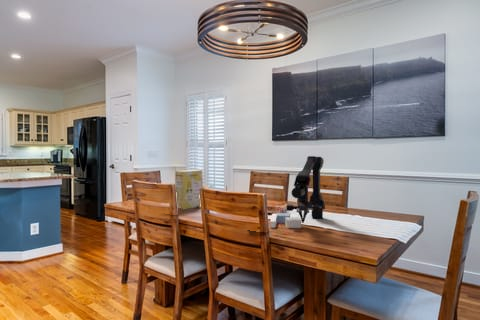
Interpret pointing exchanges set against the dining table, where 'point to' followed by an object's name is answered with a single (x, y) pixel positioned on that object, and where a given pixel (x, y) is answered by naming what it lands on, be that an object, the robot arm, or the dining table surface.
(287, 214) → the slate block
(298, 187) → the robot arm
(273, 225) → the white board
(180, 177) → the pasta box
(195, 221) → the dining table surface
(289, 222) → the grey block
